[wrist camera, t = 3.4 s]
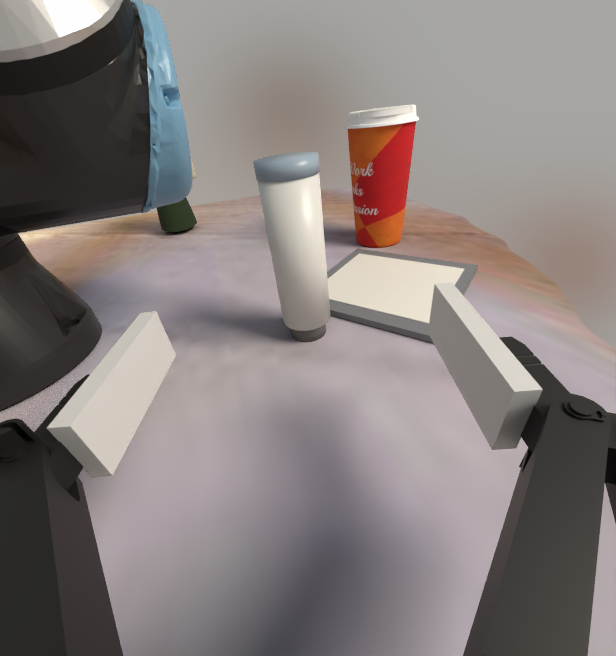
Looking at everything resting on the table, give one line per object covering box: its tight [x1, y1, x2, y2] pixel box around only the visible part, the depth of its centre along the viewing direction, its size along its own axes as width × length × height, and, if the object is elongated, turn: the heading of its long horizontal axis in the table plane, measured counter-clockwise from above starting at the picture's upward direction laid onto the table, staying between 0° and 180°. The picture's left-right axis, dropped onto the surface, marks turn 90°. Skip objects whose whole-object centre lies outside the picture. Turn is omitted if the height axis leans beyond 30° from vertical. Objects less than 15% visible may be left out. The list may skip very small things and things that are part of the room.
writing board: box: [327, 249, 478, 343], centre depth 32 cm, size 14×14×1 cm
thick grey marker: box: [253, 152, 330, 342], centre depth 23 cm, size 4×4×14 cm
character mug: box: [157, 160, 197, 232], centre depth 54 cm, size 11×7×13 cm, turn 118°
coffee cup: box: [345, 105, 419, 248], centre depth 39 cm, size 8×8×15 cm
